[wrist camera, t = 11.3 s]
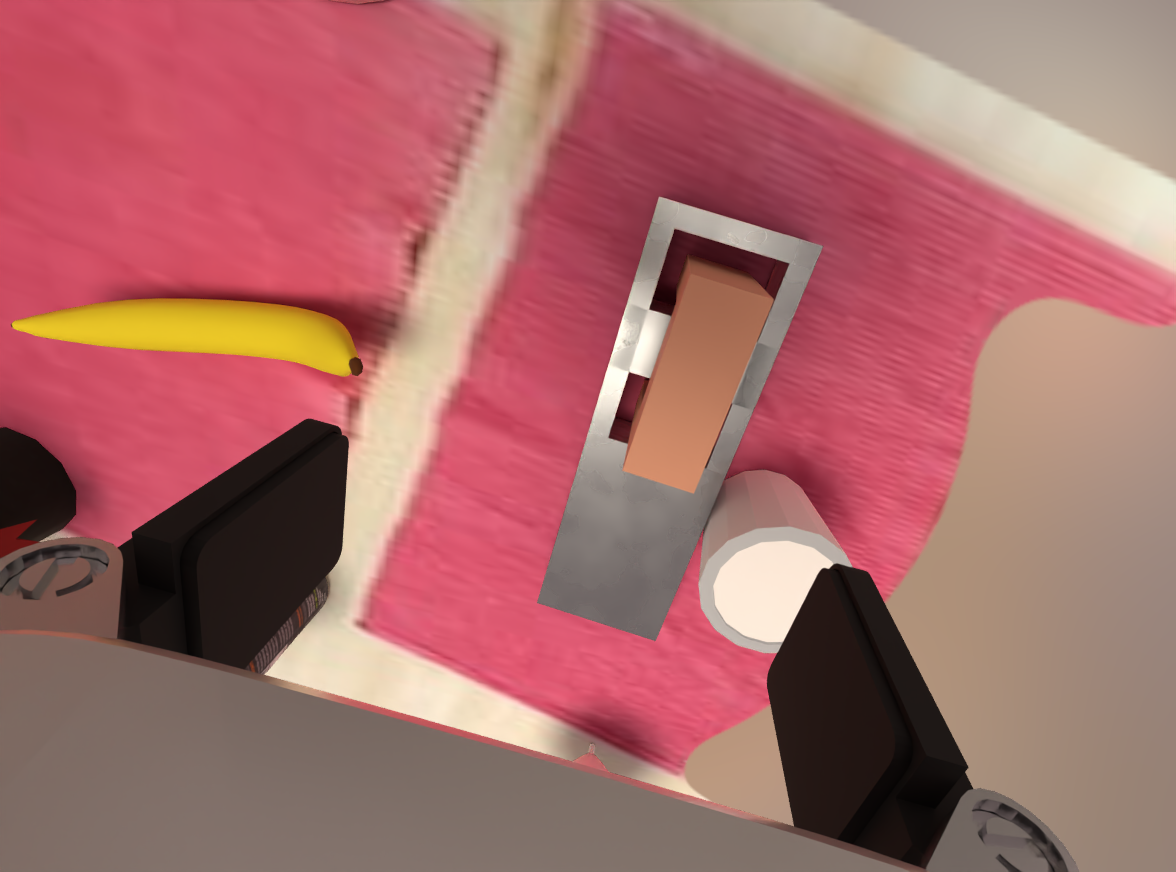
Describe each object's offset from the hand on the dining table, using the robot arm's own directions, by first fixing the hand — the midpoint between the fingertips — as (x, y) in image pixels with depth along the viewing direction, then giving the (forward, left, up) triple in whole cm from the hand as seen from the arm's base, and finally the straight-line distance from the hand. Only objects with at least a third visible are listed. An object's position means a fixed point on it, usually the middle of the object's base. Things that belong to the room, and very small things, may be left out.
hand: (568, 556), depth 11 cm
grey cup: (+8, +9, -20) cm, 23 cm away
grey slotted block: (+5, +3, -20) cm, 20 cm away
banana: (+6, -20, -20) cm, 29 cm away
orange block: (0, +3, -20) cm, 20 cm away
